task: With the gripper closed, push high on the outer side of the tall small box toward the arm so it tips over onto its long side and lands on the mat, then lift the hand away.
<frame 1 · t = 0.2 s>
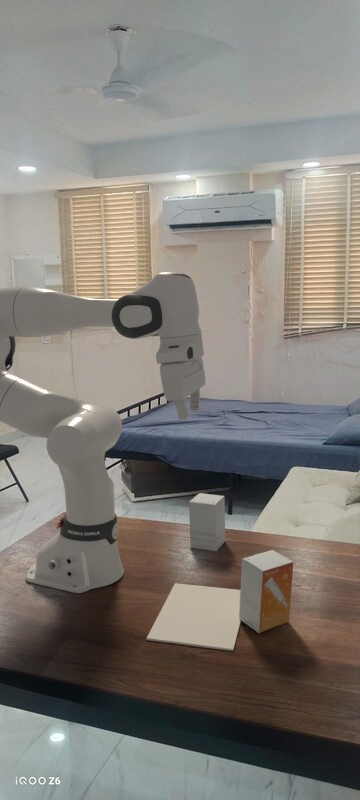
hand: (189, 414, 125), 39 cm above the table, tool pointing down, fingers open, 8 cm apart
supplement box: (207, 545, 153), on the table
small box: (263, 621, 116), on the table, touching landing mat
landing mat: (201, 614, 119), on the table
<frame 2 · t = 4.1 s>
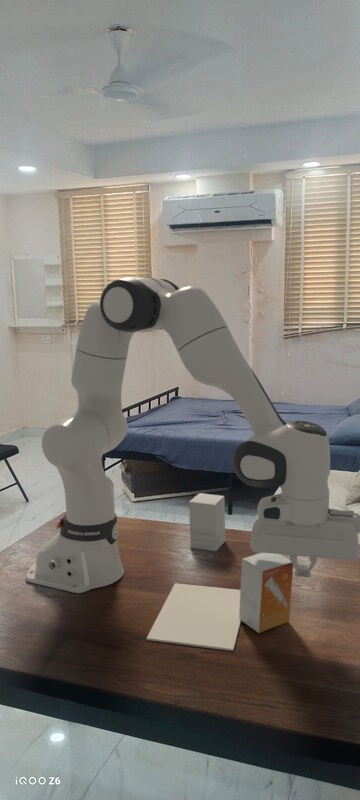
hand: (303, 575, 113), 11 cm above the table, tool pointing down, fingers closed
small box: (263, 621, 116), on the table, touching gripper, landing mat
everything else where it was.
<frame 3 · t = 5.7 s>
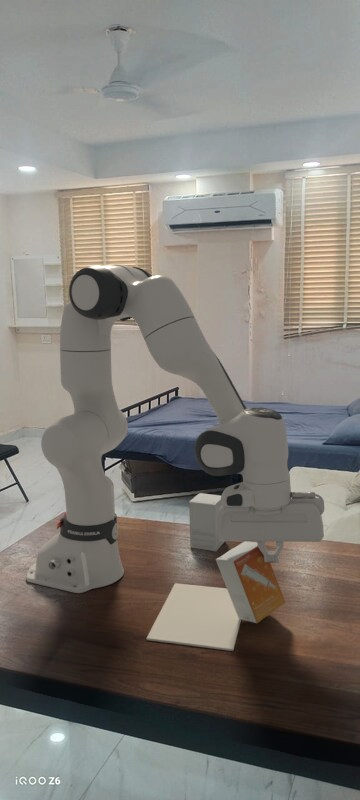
hand: (271, 561, 114), 13 cm above the table, tool pointing down, fingers closed
small box: (262, 612, 116), point 2 cm above the table, touching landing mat
everything else where it was.
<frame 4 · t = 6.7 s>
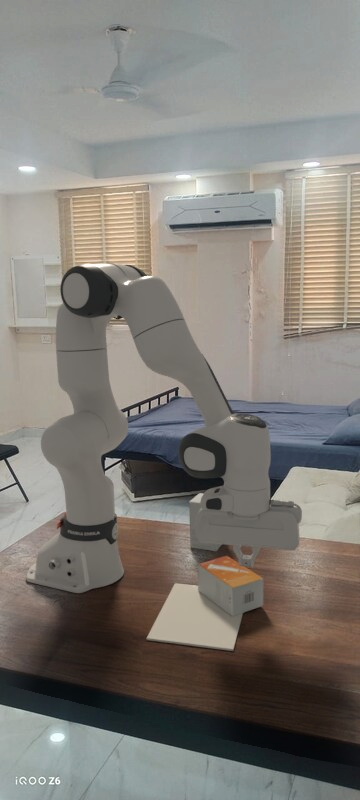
hand: (246, 565, 115), 12 cm above the table, tool pointing down, fingers closed
small box: (249, 597, 119), point 4 cm above the table, touching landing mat
everything else where it was.
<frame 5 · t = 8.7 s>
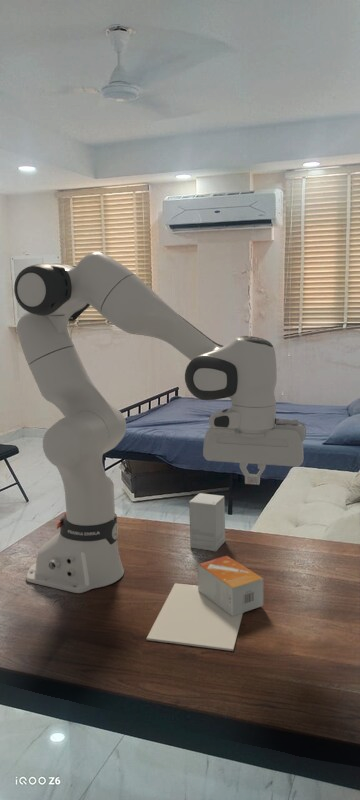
hand: (252, 483, 120), 26 cm above the table, tool pointing down, fingers closed
nothing on the table moved.
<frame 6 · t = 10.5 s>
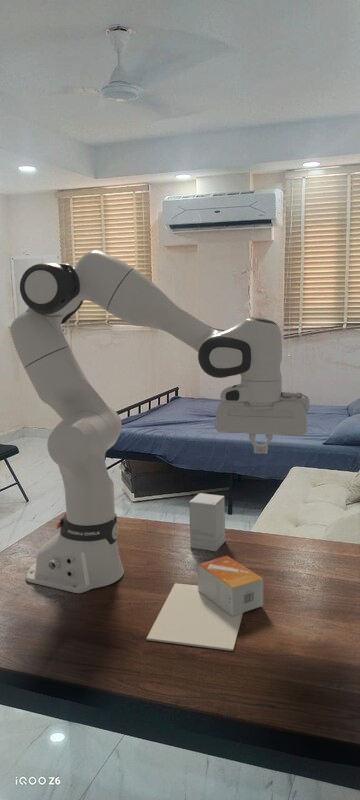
hand: (260, 452, 131), 29 cm above the table, tool pointing down, fingers closed
nothing on the table moved.
at the end: small box tilted 90°; small box inside the target area (2.3 cm from its centre), point 3.6 cm above the table; small box touching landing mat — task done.
